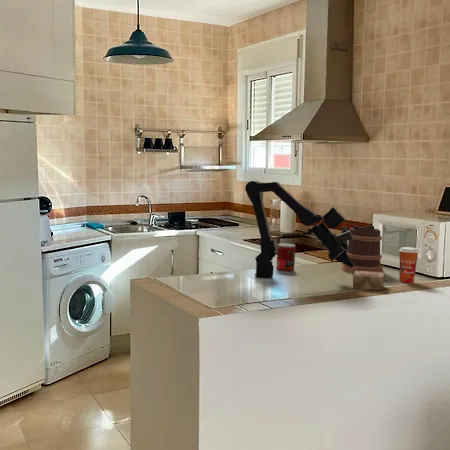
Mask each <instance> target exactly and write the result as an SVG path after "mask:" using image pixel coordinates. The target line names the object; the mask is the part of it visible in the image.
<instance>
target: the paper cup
mask: <svg viewBox="0 0 450 450" xmlns="http://www.w3.org/2000/svg"><path fill="white" fill-rule="evenodd" d="M398 251H399V283H402V282H403V284H414V283H415V276H416V269H417V264H418V263H417V262H418V256H419V253H420V251H419V249H418V248H417V247H411V246H410V247H409V246H401V247H400V248H399V250H398Z"/></svg>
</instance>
